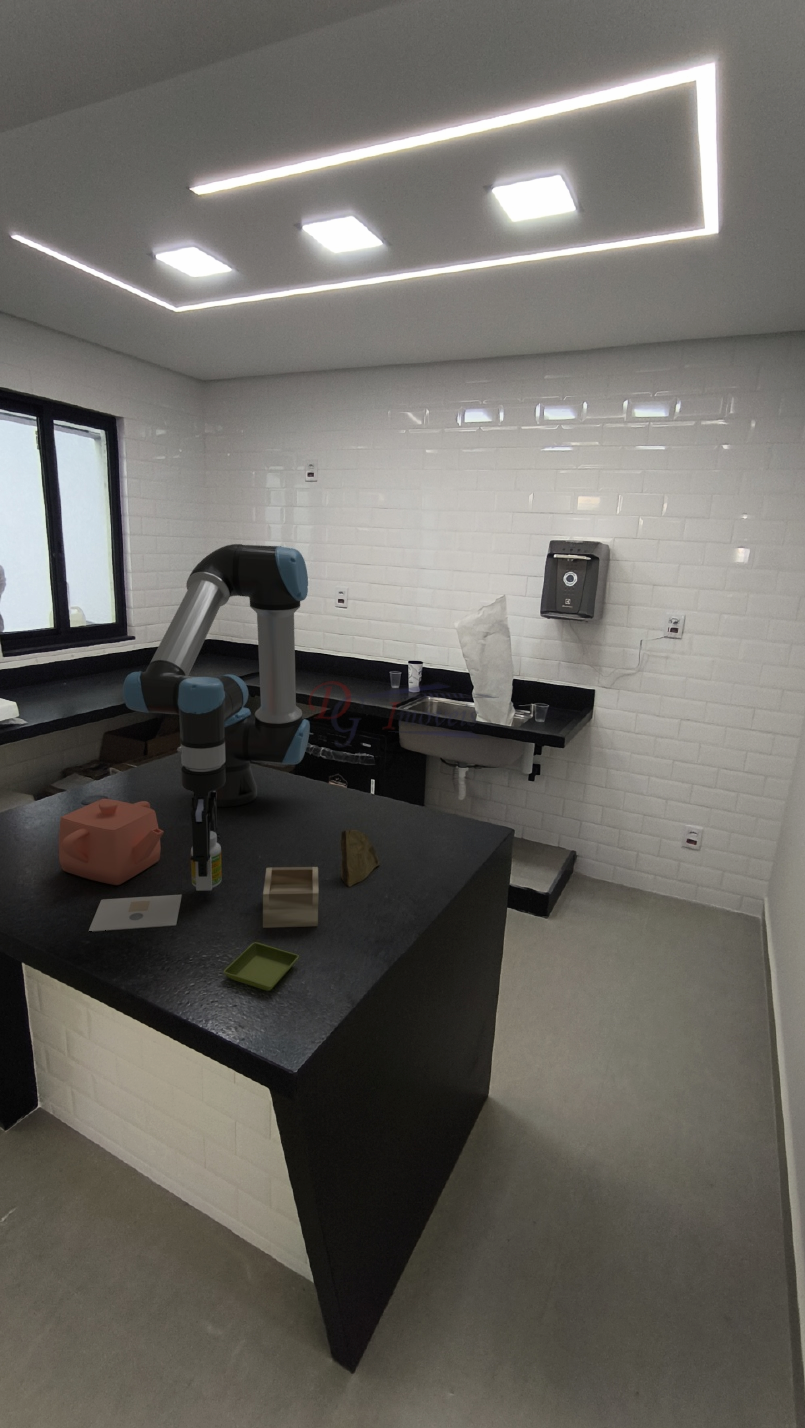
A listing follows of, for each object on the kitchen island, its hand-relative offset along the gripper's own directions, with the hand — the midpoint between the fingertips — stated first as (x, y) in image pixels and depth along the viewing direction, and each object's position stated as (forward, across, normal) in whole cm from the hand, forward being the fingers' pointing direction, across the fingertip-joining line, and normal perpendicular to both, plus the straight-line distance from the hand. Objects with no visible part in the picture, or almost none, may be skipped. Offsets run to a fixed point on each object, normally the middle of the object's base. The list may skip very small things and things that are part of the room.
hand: (206, 880), depth 121 cm
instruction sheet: (+3, +6, -11) cm, 13 cm away
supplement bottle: (+1, 0, 0) cm, 1 cm away
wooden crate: (+3, +7, +16) cm, 17 cm away
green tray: (+3, +24, +12) cm, 27 cm away
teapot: (+4, -10, -18) cm, 21 cm away
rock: (+4, -7, +30) cm, 31 cm away
